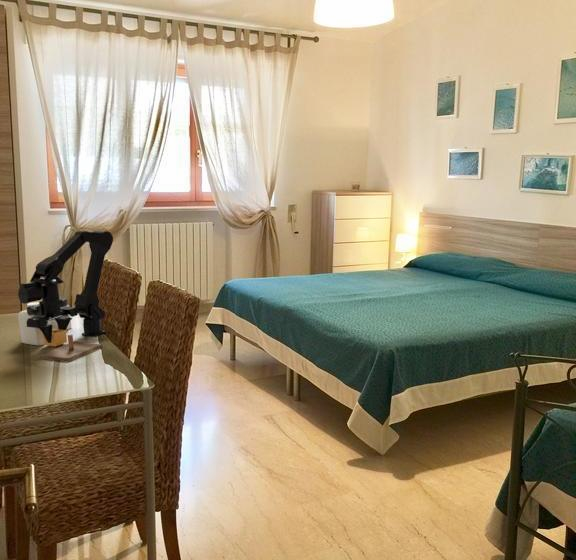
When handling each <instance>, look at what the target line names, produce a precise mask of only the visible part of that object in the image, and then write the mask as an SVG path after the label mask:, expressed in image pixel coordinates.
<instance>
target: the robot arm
mask: <svg viewBox="0 0 576 560" xmlns="http://www.w3.org/2000/svg"><path fill="white" fill-rule="evenodd" d="M113 241H114V236H113V234H112V233H111V232H110V231H107V230H93V231H92V232H91V231H87V230H77V231H76V232H75V233H74V234H73V236H71V237H70V238H69V239H68V240H67V241H66V242H65V243H64V244H63V245H62V246H60V248H59V249H58V250H56V252H55V253H54V254H53V255H50V256H48V257H46V258H44V259H43V260H41V261H39V262H38V263H37V264H36V266H35V271H34V273H33V274H32V277H31V279H30V280H29V282H23V283H20V287H19V289H18V292H17V296H18V299H19V301H20V303H22V304H24V305H25V304H26V305H27V304H28V303H33V302H38V301H39V306H37V307H34V305H32V306H29V307H27V306H26V310H27V313H28V315H29V316H31V315H34V316H35V317H32V318H29V319H28V320H27V321H26V323H27V327H33V328H39V329H40V330H41V331H42V333H43V335H44V336H45V338H46V340H47V342H48V343H51V339H52V325H49V321H51V320H54V319H55V321H56V322H57V324H58V329H61V330H66V329H67V326H68V324H69V322H70V320H72V319H73V318H74V317H77V316H78V317H79V318H80V319H82V321H83V324H82V325H83V333H81V335H82V336H88V337H89V336H90V337H97V336H99V335H102V334H104V333H106V332H107V330H103V322H102V321H103V319H105V317H106V312H105V310H104V309H102V308H101V307H100V299H99V295H98V289H99V285H100V280H101V277H102V276H101V275H102V271H103V267H104V266H103V265H104V260H105V257H106V255H107V253H108V252H109V251H110V250H111V247H112V245H113ZM86 243H89V245H88V247H89V249H90V250H89V251H90V258H89V262H88V268H87V272H86V275H85V276H86V277H85V280H84V281H85V282H84V285H83V289H82V292H80V294H79V293H76V294H75V300H74V303H73V305H74V307H71V306H69V307H64V308H60V303H62V299H59V297H60V292H59V291H60V290H59V284H63V283H64V280H62V279H60V277H59V275H60V274H61V273H62V272H63V271H64V266H65V264H66V263H67V262H68V261H69V260H70V259H71V258H72V257H73V256H74V255H75V254H76V253H77V252H78V251H79V250H80V249H81V248H82V247H83V246H84V245H85V244H86ZM37 315H39V316H44V317H37ZM68 315H70V318H69V316H68ZM50 317H51V318H50ZM72 317H73V318H72ZM66 331H67V330H66Z"/></svg>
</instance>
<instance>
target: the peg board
mask: <svg viewBox="0 0 576 560" xmlns="http://www.w3.org/2000/svg"><path fill="white" fill-rule="evenodd" d="M102 345H103V344H101V343H93V342H86V341H78V340H77V341H76V340H75V341H74V335H73V334H68V335H67V344H64V345H62V346H61V345H60V346H59V347H56V348H54V349H52V350H49V351H47V352H44V353H41V354H40V355H39V356H40V357H39V358H40V359H44V360H45V359H46V360H50V359H51V360H50V361H57V360H60V361H59V362H65V361H68V362H67V363H69V362H72V361H74V360H76V359H78V358H81V357H84V356H86V355H88V354H90V353H93V352H95V351H96V350H99V349H102V348H103V346H102ZM92 351H93V352H92ZM73 359H74V360H73ZM71 360H72V361H71Z"/></svg>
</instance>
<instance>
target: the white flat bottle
mask: <svg viewBox="0 0 576 560" xmlns="http://www.w3.org/2000/svg"><path fill="white" fill-rule="evenodd" d="M32 317H35V316H34V315H31V316H29V315H28V313H27V309H25V310H21V311H20V312H19V313H18V316H17V319H18V320H17V321H18V327H19V328H18V329H19V333H20V342H21V343H23V344H27V345H32V346H33V345H34V346H45V345H44V339H43V333H42V331H41V330H40V329H39V328H33V327H27V323H26V321H27V320H28V319H29V318H32ZM37 317H43V316H39V315H37Z"/></svg>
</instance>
